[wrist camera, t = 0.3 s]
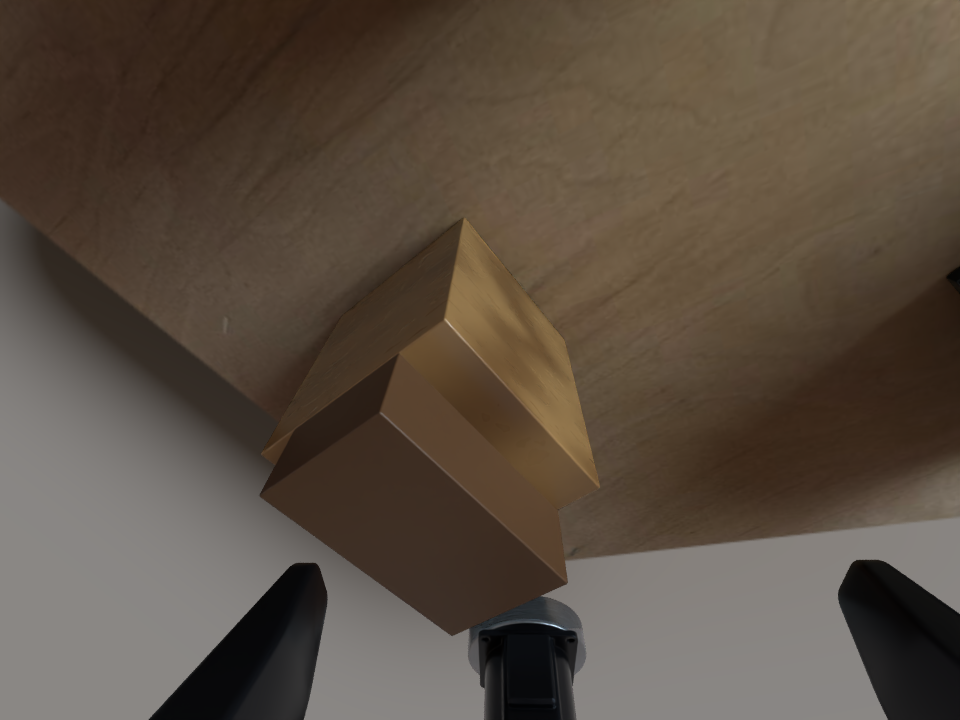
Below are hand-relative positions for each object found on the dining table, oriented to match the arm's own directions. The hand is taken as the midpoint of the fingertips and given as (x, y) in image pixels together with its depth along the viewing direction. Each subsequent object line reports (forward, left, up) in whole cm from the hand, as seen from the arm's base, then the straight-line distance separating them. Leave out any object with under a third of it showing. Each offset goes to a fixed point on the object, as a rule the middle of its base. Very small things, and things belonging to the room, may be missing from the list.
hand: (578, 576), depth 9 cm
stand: (-3, +3, -14) cm, 15 cm away
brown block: (-3, +3, -5) cm, 7 cm away
